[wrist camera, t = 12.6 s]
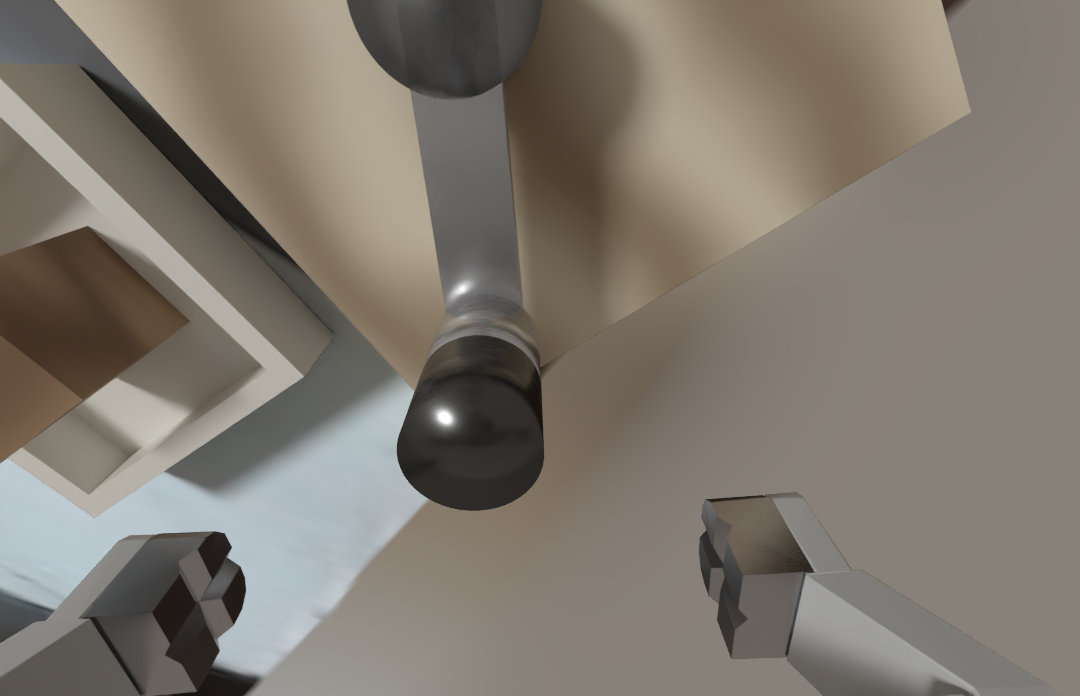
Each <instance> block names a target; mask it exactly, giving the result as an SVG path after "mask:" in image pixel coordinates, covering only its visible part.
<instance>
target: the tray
mask: <svg viewBox="0 0 1080 696" xmlns="http://www.w3.org/2000/svg"><path fill="white" fill-rule="evenodd" d="M86 226H88V227H89V228H90V229H92V230H93V231H94V232H95V233H96V234H97V235H98V236H99V237H100V238H101V239H102V240H103V241H104V242H106V243H107V244H108V245H109V246H110V247H111V248H112V249H113V250H114V251H115V252H116V253H117V254H118V255H120V256H121V257H122V258H123V259H124V260H125V261H126V262H127V263H128V264H129V265H130V266H131V267H132V268H134V269H135V270H136V271H137V272H138V273H139V274H140V275H141V276H142V277H143V278H144V279H145V280H146V281H148V282H149V283H150V284H151V285H152V286H153V287H154V288H155V289H156V290H157V291H158V292H159V293H160V294H162V295H163V296H164V297H165V298H166V299H167V300H168V301H169V302H170V303H171V304H172V305H173V306H174V307H175V308H177V309H178V310H179V311H180V312H181V313H182V314H183V315H184V316H185V317H186V318H187V319H188V320H189V321H190V322H188V323H187V324H186V325H184V326H183V327H182V328H181V329H179V330H178V331H177V332H175V333H174V334H173V335H171V336H170V337H169V338H167V339H166V340H165V341H164V342H162V343H161V344H160V345H158V346H157V347H156V348H154V349H153V350H152V351H150V352H149V353H148V354H146V355H145V356H144V357H143V358H141V359H140V360H139V361H137V362H136V363H135V364H133V365H132V366H131V367H129V368H128V369H127V370H126V371H124V372H123V373H122V374H120V375H119V376H118V377H116V378H115V379H114V380H112V381H111V382H110V383H108V384H107V385H106V386H104V387H103V388H101V389H100V390H99V391H97V392H96V393H95V394H93V395H92V396H91V397H89V398H88V399H87V400H85V401H84V402H82V403H81V404H80V405H78V406H77V407H76V408H74V409H73V410H72V411H70V412H69V413H68V414H66V415H65V416H64V417H62V418H61V419H59V420H58V421H57V422H55V423H54V424H53V425H51V426H50V427H49V428H47V429H46V430H45V431H43V432H42V433H40V434H39V435H38V436H36V437H35V438H34V439H32V440H31V441H30V442H28V443H27V444H26V445H24V446H23V447H22V448H20V449H19V450H17V451H16V452H15V453H13V454H12V455H11V456H9V457H8V459H10V460H11V461H13V462H14V463H15V464H17V465H18V466H20V467H21V468H23V469H24V470H26V471H27V472H28V473H30V474H31V475H33V476H34V477H36V478H37V479H39V480H40V481H41V482H43V483H44V484H46V485H47V486H49V487H50V488H52V489H53V490H54V491H56V492H57V493H59V494H60V495H62V496H63V497H64V498H66V499H67V500H69V501H70V502H72V503H73V504H75V505H76V506H77V507H79V508H80V509H82V510H83V511H85V512H86V513H88V514H89V515H90V516H92V517H93V518H96V517H97V516H99V515H100V514H101V513H103V512H104V511H106V510H107V509H109V508H110V507H112V506H113V505H115V504H116V503H118V502H119V501H121V500H122V499H124V498H125V497H127V496H128V495H130V494H131V493H133V492H134V491H136V490H137V489H139V488H140V487H142V486H143V485H144V484H146V483H147V482H149V481H150V480H152V479H153V478H155V477H156V476H158V475H159V474H161V473H162V472H164V471H165V470H167V469H168V468H170V467H171V466H173V465H174V464H176V463H177V462H179V461H180V460H182V459H183V458H185V457H186V456H187V455H189V454H190V453H192V452H193V451H195V450H196V449H198V448H199V447H201V446H202V445H204V444H205V443H207V442H208V441H210V440H211V439H213V438H214V437H216V436H217V435H219V434H220V433H222V432H223V431H225V430H226V429H227V428H229V427H230V426H232V425H233V424H235V423H236V422H238V421H239V420H241V419H242V418H244V417H245V416H247V415H248V414H250V413H251V412H253V411H254V410H256V409H257V408H259V407H260V406H262V405H263V404H265V403H266V402H268V401H269V400H270V399H272V398H273V397H275V396H276V395H278V394H279V393H281V392H282V391H284V390H285V389H287V388H288V387H290V386H291V385H293V384H294V383H296V382H297V381H299V380H300V379H302V378H303V377H304V376H305V375H306V374H307V372H308V371H309V370H310V368H311V367H312V366H313V364H314V363H315V362H316V360H317V359H318V357H319V356H320V355H321V353H322V352H323V351H324V349H325V348H326V347H327V345H328V344H329V343H330V341H331V340H332V339H333V337H334V336H335V335H334V334H333V333H332V332H331V331H330V330H329V329H328V328H327V327H326V326H325V325H324V324H323V323H322V322H321V321H320V320H319V319H318V317H317V316H316V315H315V314H314V313H313V312H312V311H311V310H310V309H309V308H308V307H307V306H306V305H305V304H304V303H303V302H302V301H301V300H300V298H299V297H298V296H297V295H296V294H295V293H294V292H293V291H292V290H291V289H290V288H289V287H288V286H287V285H286V284H285V283H284V282H283V281H282V280H281V278H280V277H279V276H278V275H277V274H276V273H275V272H274V271H273V270H272V269H271V268H270V267H269V266H268V265H267V264H266V263H265V262H264V261H263V260H262V258H261V257H260V256H259V255H258V254H257V253H256V252H255V251H254V250H253V249H252V248H251V247H250V246H249V245H248V244H247V243H246V242H245V241H244V240H243V238H242V237H241V236H240V235H239V234H238V233H237V232H236V231H235V230H234V229H233V228H232V227H231V226H230V225H229V224H228V223H227V222H226V221H225V219H224V218H223V217H222V216H221V215H220V214H219V213H218V212H217V211H216V210H215V209H214V208H213V207H212V206H211V205H210V204H209V203H208V202H207V201H206V199H205V198H204V197H203V196H202V195H201V194H200V193H199V192H198V191H197V190H196V189H195V188H194V187H193V186H192V185H191V184H190V183H189V182H188V181H187V179H186V178H185V177H184V176H183V175H182V174H181V173H180V172H179V171H178V170H177V169H176V168H175V167H174V166H173V165H172V164H171V163H170V162H169V161H168V159H167V158H166V157H165V156H164V155H163V154H162V153H161V152H160V151H159V150H158V149H157V148H156V147H155V146H154V145H153V144H152V143H151V142H150V141H149V139H148V138H147V137H146V136H145V135H144V134H143V133H142V132H141V131H140V130H139V129H138V128H137V127H136V126H135V125H134V124H133V123H132V122H131V120H130V119H129V118H128V117H127V116H126V115H125V114H124V113H123V112H122V111H121V110H120V109H119V108H118V107H117V106H116V105H115V104H114V103H113V102H112V100H111V99H110V98H109V97H108V96H107V95H106V94H105V93H104V92H103V91H102V90H101V89H100V88H99V87H98V86H97V85H96V84H95V83H94V82H93V80H92V79H91V78H90V77H89V76H88V75H87V74H86V73H85V72H84V71H83V70H82V69H81V68H80V67H79V66H78V65H49V64H0V256H2V255H5V254H7V253H10V252H13V251H16V250H19V249H22V248H25V247H28V246H31V245H33V244H36V243H39V242H42V241H45V240H48V239H51V238H54V237H57V236H59V235H62V234H65V233H68V232H71V231H74V230H77V229H80V228H83V227H86Z"/></svg>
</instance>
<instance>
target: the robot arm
mask: <svg viewBox="0 0 1080 696" xmlns="http://www.w3.org/2000/svg"><path fill="white" fill-rule="evenodd" d="M702 520H703V522H704V524H705V527H706V531H705V532H704V533H703V535H702V536H701V537H700V545H699V556H700V566H701V572H702V576H703V580H704V583H705V586H706V589H707V592H708V595H709V596H710V597H711V598H712V599H713V600H715V601H716V602H717V603H718V604H719V607H718V617H717V621H718V623H719V626H720V629H721V632H722V635H723V637H724V640H725V643H726V646H727V648H728V651H729V654H730V657H731V659H749V658H779V657H787V661H788V662H789V663H790V664H791V665H792V666H793V667H794V668H795V669H796V670H797V671H798V672H800V674H801V675H802V676H803V677H804V678H806V680H807V681H809V682H810V683H811V684H812V685H813V686H814V687H815V688H816V689H817V690H818V691H819V692H820V693H821V694H822V695H823V696H1058V694H1056V692H1055V691H1054V690H1053V689H1052V687H1051V686H1049V685H1047V684H1046V683H1044V682H1042V681H1041V680H1039V679H1038V678H1036V677H1034V676H1033V675H1031V674H1029V673H1028V672H1026V671H1024V670H1023V669H1021V668H1020V667H1018V666H1017V665H1015V664H1013V663H1012V662H1010V661H1008V660H1007V659H1005V658H1004V657H1002V656H1000V655H999V654H997V653H996V652H994V651H992V650H991V649H989V648H987V647H986V646H984V645H982V644H981V643H979V642H978V641H976V640H974V639H973V638H971V637H969V636H968V635H966V634H965V633H963V632H962V631H960V630H958V629H957V628H955V627H954V626H952V625H950V624H949V623H947V622H945V621H944V620H942V619H940V618H939V617H937V616H936V615H934V614H933V613H931V612H929V611H928V610H926V609H924V608H923V607H921V606H920V605H918V604H916V603H915V602H913V601H911V600H910V599H908V598H907V597H905V596H903V595H902V594H900V593H899V592H897V591H895V590H894V589H892V588H890V587H889V586H887V585H886V584H884V583H882V582H881V581H879V580H878V579H876V578H874V577H873V576H871V575H869V574H868V573H866V572H865V571H863V570H852V569H851V568H850V566H849V565H848V563H847V562H846V560H845V559H844V557H843V556H842V554H841V553H840V552H839V550H838V549H837V547H836V546H835V544H834V543H833V541H832V540H831V538H830V537H829V535H828V534H827V532H826V531H825V529H824V528H823V526H822V525H821V523H820V522H819V520H818V519H817V518H816V516H815V515H814V513H813V512H812V510H811V509H810V507H809V506H808V504H807V503H806V501H805V500H804V499H803V497H802V496H801V495H799V494H798V493H796V492H793V493H782V494H769V495H765V496H763V495H759V496H745V497H732V498H718V499H706V500H705V502H704V504H703V509H702ZM231 548H232V547H231V545H230V543H229V541H228V539H227V537H226V535H225V533H220V532H216V531H214V532H189V533H164V534H158V535H130V536H128V537H126V538H124V539H122V540H120V541H118V542H117V543H116V544H115V545H114V546H113V547H112V549H111V550H110V551H109V552H108V553H107V554H106V555H105V556H104V557H103V558H102V560H101V561H100V562H99V563H98V564H97V565H96V566H95V567H94V568H93V569H92V571H91V572H90V573H89V574H88V575H87V576H86V577H85V578H84V579H83V580H82V582H81V583H80V584H79V585H78V586H77V587H76V588H75V589H74V590H73V591H72V593H71V594H70V595H69V596H68V597H67V598H66V599H65V600H64V601H63V602H62V604H61V605H60V606H59V607H58V608H57V609H56V610H55V611H54V612H53V613H52V615H51V616H50V617H49V618H48V619H47V620H46V621H42V622H35V623H33V624H31V625H30V626H28V627H26V628H25V629H23V630H21V631H20V632H18V633H17V634H15V635H13V636H12V637H10V638H8V639H7V640H5V641H3V642H2V643H0V696H155V695H166V694H177V693H188V692H197V691H198V689H199V687H200V686H201V684H202V682H203V680H204V678H205V677H206V675H207V673H208V671H209V669H210V668H211V666H212V664H213V662H214V660H215V658H216V657H217V655H218V653H219V651H220V649H219V644H218V639H217V638H219V637H220V636H221V635H222V634H223V633H225V632H226V631H227V630H228V629H230V628H231V627H232V626H233V625H234V624H235V622H236V620H237V618H238V616H239V614H240V612H241V610H242V607H243V603H244V598H245V593H246V585H245V577H244V574H243V572H242V570H241V567H240V566H239V565H237V564H236V563H234V562H233V561H231V560H230V559H228V558H227V557H228V555H229V553H230V550H231Z"/></svg>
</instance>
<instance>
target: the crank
mask: <svg viewBox="0 0 1080 696" xmlns="http://www.w3.org/2000/svg"><path fill="white" fill-rule="evenodd" d="M347 4H348V8H349V12H350V15H351V18H352V21H353V24H354V26H355V29H356V31H357V33H358V35H359V37H360V39H361V41H362V43H363V44H364V46H365V47H366V49H367V50H368V52H369V53H370V55H371V56H372V57H373V58H374V60H375V61H376V62H377V63H378V65H379V66H380V67H381V68H382V69H383V70H384V71H385V72H386V73H387V74H388V75H390V76H391V77H392V78H394V79H395V80H396V81H397V82H399V83H400V84H402V85H404V86H405V87H407V88H409V89H410V92H411V98H412V104H413V110H414V117H415V123H416V129H417V135H418V142H419V148H420V154H421V160H422V167H423V173H424V179H425V185H426V192H427V198H428V204H429V211H430V217H431V223H432V229H433V236H434V242H435V248H436V254H437V261H438V267H439V273H440V279H441V286H442V292H443V298H444V304H445V311H446V313H445V314H444V315H443V317H442V319H441V320H440V322H439V325H438V328H437V331H436V333H435V336H434V339H433V342H432V345H431V347H430V350H429V353H428V356H427V359H426V361H425V364H424V367H423V370H422V373H421V375H420V378H419V381H418V384H417V387H416V389H415V392H414V395H413V398H412V401H411V403H410V406H409V409H408V412H407V415H406V417H405V420H404V423H403V426H402V429H401V431H400V434H399V437H398V442H397V457H398V462H399V465H400V468H401V470H402V472H403V474H404V476H405V477H406V479H407V480H408V482H409V483H410V484H411V485H412V486H413V487H414V488H415V489H416V490H417V491H418V492H419V493H421V494H422V495H424V496H425V497H427V498H428V499H430V500H432V501H434V502H436V503H438V504H441V505H443V506H447V507H450V508H454V509H459V510H469V511H472V510H473V511H475V510H478V511H479V510H487V509H492V508H497V507H500V506H503V505H506V504H508V503H510V502H512V501H514V500H516V499H518V498H519V497H521V496H522V495H523V494H525V493H526V492H527V491H528V490H529V489H530V488H531V487H532V486H533V484H534V483H535V482H536V480H537V478H538V477H539V475H540V472H541V469H542V467H543V461H544V440H543V416H542V393H541V392H542V391H541V367H540V343H539V334H538V330H537V327H536V325H535V323H534V321H533V319H532V318H531V316H530V315H529V314H528V313H527V312H526V311H525V310H524V306H523V295H522V283H521V272H520V260H519V249H518V237H517V226H516V214H515V203H514V191H513V180H512V168H511V157H510V145H509V134H508V122H507V111H506V99H505V88H504V82H506V81H507V80H508V79H509V78H511V77H512V76H513V75H514V74H515V73H516V72H517V71H518V69H519V68H520V67H521V66H522V64H523V63H524V61H525V60H526V58H527V57H528V55H529V53H530V51H531V49H532V46H533V43H534V41H535V38H536V34H537V30H538V25H539V20H540V16H541V8H542V0H347Z"/></svg>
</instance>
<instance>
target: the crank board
mask: <svg viewBox="0 0 1080 696" xmlns="http://www.w3.org/2000/svg"><path fill="white" fill-rule="evenodd" d="M55 1H56V2H57V4H58V5H59V6H60V7H61V8H62V9H63V10H64V11H65V12H66V13H67V14H68V15H69V17H70V18H71V19H72V20H73V21H74V22H75V23H76V24H77V25H78V26H79V27H80V28H81V30H82V31H83V32H84V33H85V34H86V35H87V36H88V37H89V38H90V39H91V40H92V42H93V43H94V44H95V45H96V46H97V47H98V48H99V49H100V50H101V51H102V52H103V53H104V55H105V56H106V57H107V58H108V59H109V60H110V61H111V62H112V63H113V64H114V65H115V66H116V68H117V69H118V70H119V71H120V72H121V73H122V74H123V75H124V76H125V77H126V78H127V80H128V81H129V82H130V83H131V84H132V85H133V86H134V87H135V88H136V89H137V90H138V91H139V93H140V94H141V95H142V96H143V97H144V98H145V99H146V100H147V101H148V102H149V103H150V104H151V106H152V107H153V108H154V109H155V110H156V111H157V112H158V113H159V114H160V115H161V116H162V117H163V119H164V120H165V121H166V122H167V123H168V124H169V125H170V126H171V127H172V128H173V129H174V131H175V132H176V133H177V134H178V135H179V136H180V137H181V138H182V139H183V140H184V141H185V142H186V144H187V145H188V146H189V147H190V148H191V149H192V150H193V151H194V152H195V153H196V154H197V155H198V157H199V158H200V159H201V160H202V161H203V162H204V163H205V164H206V165H207V166H208V167H209V169H210V170H211V171H212V172H213V173H214V174H215V175H216V176H217V177H218V178H219V179H220V180H221V182H222V183H223V184H224V185H225V186H226V187H227V188H228V189H229V190H230V191H231V192H232V193H233V195H234V196H235V197H236V198H237V199H238V200H239V201H240V202H241V203H242V204H243V205H244V207H245V208H246V209H247V210H248V211H249V212H250V213H251V214H252V215H253V216H254V217H255V218H256V220H257V221H258V222H259V223H260V224H261V225H262V226H263V227H264V228H265V229H266V230H267V231H268V233H269V234H270V235H271V236H272V237H273V238H274V239H275V240H276V241H277V242H278V243H279V244H280V246H281V247H282V248H283V249H284V250H285V251H286V252H287V253H288V254H289V255H290V256H291V258H292V259H293V260H294V261H295V262H296V263H297V264H298V265H299V266H300V267H301V268H302V269H303V271H304V272H305V273H306V274H307V275H308V276H309V277H310V278H311V279H312V280H313V281H314V282H315V284H316V285H317V286H318V287H319V288H320V289H321V290H322V291H323V292H324V293H325V294H326V296H327V297H328V298H329V299H330V300H331V301H332V302H333V303H334V304H335V305H336V306H337V307H338V309H339V310H340V311H341V312H342V313H343V314H344V315H345V316H346V317H347V318H348V319H349V320H350V322H351V323H352V324H353V325H354V326H355V327H356V328H357V329H358V330H359V331H360V332H361V334H362V335H363V336H364V337H365V338H366V339H367V340H368V341H369V342H370V343H371V344H372V345H373V347H374V348H375V349H376V350H377V351H378V352H379V353H380V354H381V355H382V356H383V357H384V358H385V360H386V361H387V362H388V363H389V364H390V365H391V366H392V367H393V368H394V369H395V370H396V371H397V373H398V374H399V375H400V376H401V377H402V378H403V379H404V380H405V381H406V382H407V383H408V385H409V386H410V387H411V388H412V389H413V390H414V391H415V389H416V387H417V384H418V381H419V378H420V375H421V373H422V370H423V367H424V364H425V361H426V359H427V356H428V353H429V350H430V347H431V345H432V342H433V339H434V336H435V333H436V331H437V328H438V325H439V322H440V320H441V319H442V317H443V315H444V314H445V313H446V311H445V304H444V298H443V292H442V286H441V279H440V273H439V267H438V261H437V254H436V248H435V242H434V236H433V229H432V223H431V217H430V211H429V204H428V198H427V192H426V185H425V179H424V173H423V167H422V160H421V154H420V148H419V142H418V135H417V129H416V123H415V117H414V110H413V104H412V98H411V92H410V89H409V88H407V87H405V86H404V85H402V84H400V83H399V82H397V81H396V80H395V79H394V78H392V77H391V76H390V75H388V74H387V73H386V72H385V71H384V70H383V69H382V68H381V67H380V66H379V65H378V63H377V62H376V61H375V60H374V58H373V57H372V56H371V55H370V53H369V52H368V50H367V49H366V47H365V46H364V44H363V43H362V41H361V39H360V37H359V35H358V33H357V31H356V29H355V26H354V24H353V21H352V18H351V15H350V12H349V8H348V4H347V0H55ZM504 88H505V99H506V111H507V122H508V134H509V145H510V157H511V168H512V180H513V191H514V203H515V214H516V226H517V237H518V249H519V260H520V272H521V283H522V295H523V306H524V310H525V311H526V312H527V313H528V314H529V315H530V316H531V318H532V319H533V321H534V323H535V325H536V327H537V330H538V334H539V343H540V367H543V366H544V365H546V364H548V363H549V362H551V361H553V360H554V359H556V358H558V357H559V356H561V355H563V354H565V353H566V352H568V351H570V350H571V349H573V348H575V347H576V346H578V345H580V344H581V343H583V342H585V341H586V340H588V339H590V338H591V337H593V336H595V335H597V334H598V333H600V332H602V331H603V330H605V329H607V328H608V327H610V326H611V325H613V324H615V323H617V322H618V321H620V320H622V319H623V318H625V317H627V316H629V315H630V314H632V313H633V312H635V311H637V310H639V309H640V308H642V307H644V306H645V305H647V304H649V303H650V302H652V301H654V300H655V299H657V298H659V297H661V296H662V295H664V294H666V293H667V292H669V291H670V290H672V289H674V288H676V287H677V286H679V285H681V284H682V283H684V282H686V281H688V280H689V279H691V278H692V277H694V276H696V275H698V274H699V273H701V272H703V271H704V270H706V269H707V268H709V267H711V266H713V265H715V264H716V263H718V262H719V261H721V260H723V259H725V258H726V257H728V256H730V255H731V254H733V253H735V252H736V251H738V250H740V249H741V248H743V247H745V246H747V245H748V244H750V243H752V242H753V241H755V240H757V239H758V238H760V237H762V236H763V235H765V234H767V233H768V232H770V231H772V230H774V229H775V228H777V227H778V226H780V225H782V224H784V223H785V222H787V221H789V220H790V219H792V218H794V217H795V216H797V215H799V214H800V213H802V212H804V211H806V210H807V209H809V208H811V207H812V206H814V205H816V204H817V203H819V202H821V201H822V200H824V199H825V198H827V197H829V196H831V195H833V194H834V193H836V192H837V191H839V190H841V189H843V188H844V187H846V186H847V185H849V184H851V183H853V182H854V181H856V180H858V179H859V178H861V177H863V176H865V175H866V174H868V173H869V172H871V171H873V170H875V169H876V168H878V167H880V166H881V165H883V164H885V163H886V162H888V161H890V160H892V159H893V158H895V157H897V156H898V155H900V154H902V153H903V152H905V151H907V150H908V149H910V148H912V147H913V146H915V145H917V144H918V143H920V142H922V141H923V140H925V139H927V138H929V137H930V136H932V135H934V134H935V133H937V132H939V131H940V130H942V129H944V128H945V127H947V126H949V125H950V124H952V123H954V122H956V121H957V120H959V119H961V118H962V117H964V116H966V115H967V114H969V113H971V110H970V107H969V103H968V99H967V95H966V92H965V88H964V84H963V80H962V77H961V73H960V69H959V65H958V62H957V58H956V54H955V50H954V47H953V43H952V39H951V35H950V32H949V28H948V24H947V20H946V17H945V13H944V9H943V6H942V2H941V0H542V8H541V16H540V20H539V25H538V30H537V34H536V38H535V41H534V43H533V46H532V49H531V51H530V53H529V55H528V57H527V58H526V60H525V61H524V63H523V64H522V66H521V67H520V68H519V69H518V71H517V72H516V73H515V74H514V75H513V76H512V77H511V78H509V79H508V80H507V81H506V82H504Z"/></svg>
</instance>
